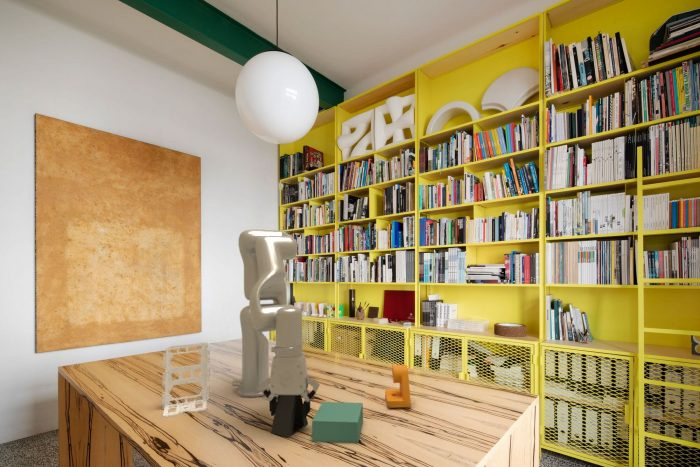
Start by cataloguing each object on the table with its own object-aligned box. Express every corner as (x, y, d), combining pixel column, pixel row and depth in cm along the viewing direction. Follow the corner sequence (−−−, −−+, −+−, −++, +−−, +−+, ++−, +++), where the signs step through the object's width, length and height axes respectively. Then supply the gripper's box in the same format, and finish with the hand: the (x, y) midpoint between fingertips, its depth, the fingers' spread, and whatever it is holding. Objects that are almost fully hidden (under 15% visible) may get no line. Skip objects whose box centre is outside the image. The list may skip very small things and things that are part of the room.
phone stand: (287, 438, 92) (287, 391, 93) (270, 433, 95) (270, 387, 96) (308, 424, 100) (307, 381, 101) (291, 420, 102) (291, 378, 104)
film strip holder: (159, 418, 106) (161, 351, 108) (163, 403, 119) (165, 343, 121) (209, 410, 112) (210, 346, 114) (208, 396, 125) (209, 339, 127)
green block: (312, 441, 90) (312, 420, 90) (322, 419, 103) (322, 401, 103) (358, 442, 88) (357, 422, 89) (363, 420, 101) (362, 402, 102)
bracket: (385, 397, 119) (383, 361, 120) (406, 397, 119) (404, 361, 120) (387, 410, 108) (386, 370, 110) (410, 409, 108) (409, 370, 109)
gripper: (255, 354, 97) (255, 419, 95) (316, 354, 94) (317, 421, 93) (265, 348, 104) (265, 408, 102) (321, 348, 102) (322, 409, 100)
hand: (289, 414), depth 97 cm, fingers open, 9 cm apart
